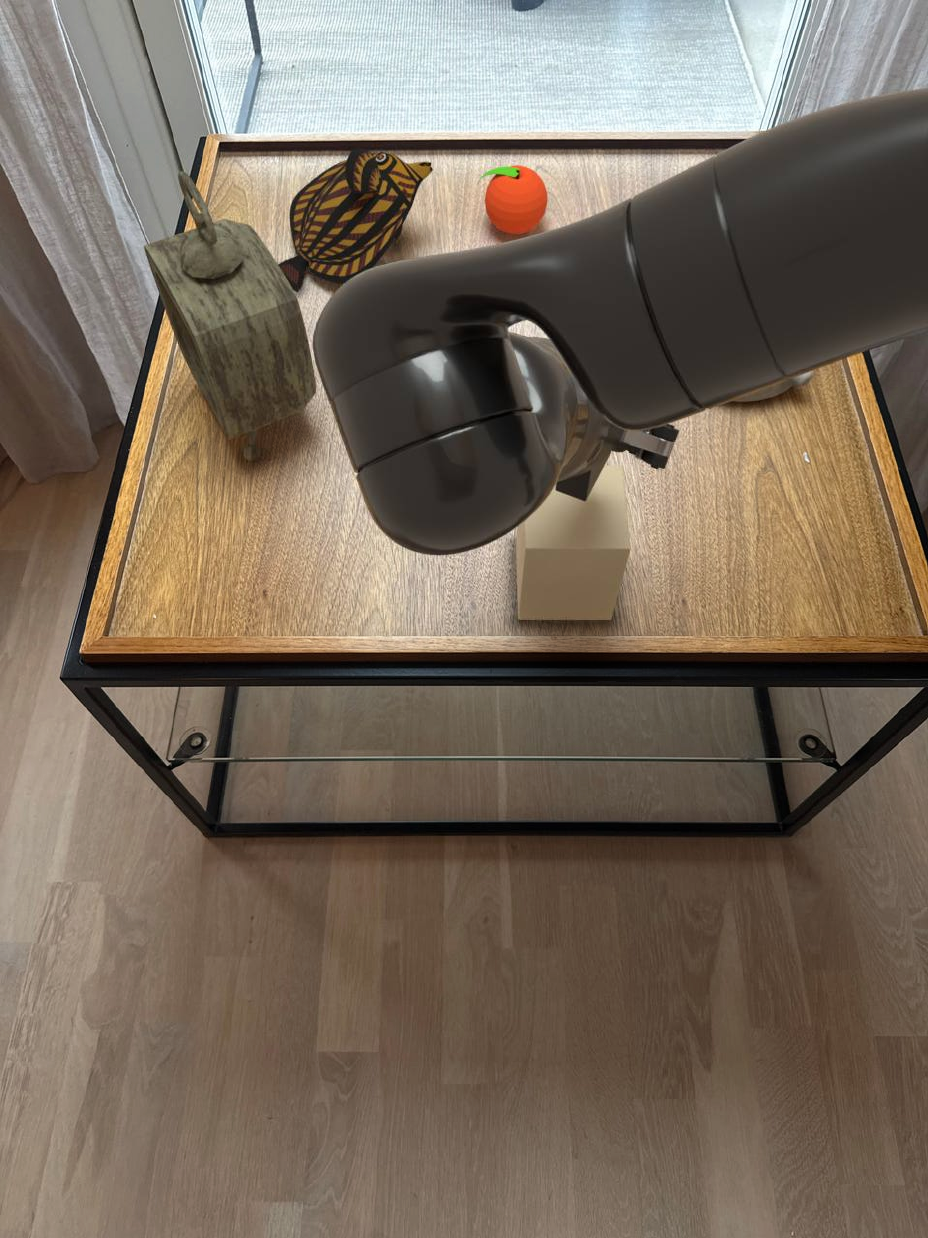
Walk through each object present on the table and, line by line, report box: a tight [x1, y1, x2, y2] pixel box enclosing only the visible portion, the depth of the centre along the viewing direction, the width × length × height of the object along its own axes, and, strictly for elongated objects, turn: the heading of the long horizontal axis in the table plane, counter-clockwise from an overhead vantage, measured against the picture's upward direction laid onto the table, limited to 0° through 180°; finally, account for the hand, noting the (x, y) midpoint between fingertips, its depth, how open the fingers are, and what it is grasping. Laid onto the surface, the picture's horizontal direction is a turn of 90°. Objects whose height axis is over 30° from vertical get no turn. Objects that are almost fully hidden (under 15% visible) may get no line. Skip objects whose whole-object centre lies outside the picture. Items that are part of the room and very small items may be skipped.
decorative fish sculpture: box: [277, 148, 434, 292], centre depth 97 cm, size 14×16×12 cm
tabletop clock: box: [143, 171, 317, 462], centre depth 80 cm, size 14×9×25 cm, turn 29°
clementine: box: [476, 164, 549, 235], centre depth 101 cm, size 8×7×7 cm
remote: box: [555, 451, 612, 501], centre depth 64 cm, size 2×5×8 cm, turn 154°
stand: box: [515, 465, 632, 621], centre depth 76 cm, size 8×8×11 cm
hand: (598, 414), depth 65 cm, fingers closed on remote, 2 cm apart
